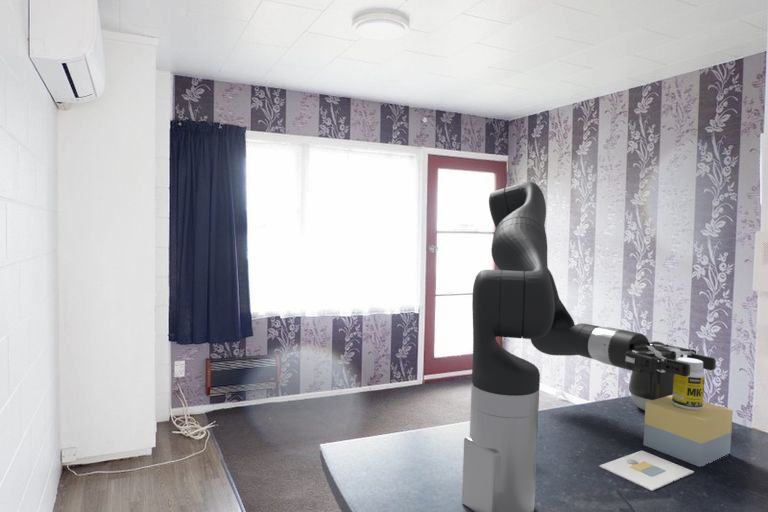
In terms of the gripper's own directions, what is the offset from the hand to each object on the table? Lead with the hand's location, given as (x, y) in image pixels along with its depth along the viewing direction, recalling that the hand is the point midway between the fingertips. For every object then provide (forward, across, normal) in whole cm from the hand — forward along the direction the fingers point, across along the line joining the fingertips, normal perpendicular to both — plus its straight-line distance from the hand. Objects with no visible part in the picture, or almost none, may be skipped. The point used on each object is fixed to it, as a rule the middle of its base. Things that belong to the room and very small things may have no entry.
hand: (702, 367), depth 91 cm
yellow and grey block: (-2, 0, +16) cm, 16 cm away
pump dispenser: (-17, +15, +16) cm, 28 cm away
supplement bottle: (-2, 0, +8) cm, 8 cm away
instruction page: (-1, -14, +16) cm, 21 cm away
